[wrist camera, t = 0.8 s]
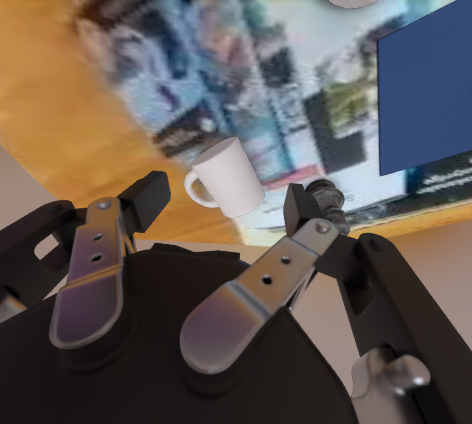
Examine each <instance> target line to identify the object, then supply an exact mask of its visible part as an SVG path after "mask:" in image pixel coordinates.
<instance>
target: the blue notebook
mask: <svg viewBox="0 0 472 424" xmlns="http://www.w3.org/2000/svg"><path fill="white" fill-rule="evenodd" d="M377 59H378V107H379V156H380V176H384V175H387V174H391V173H394V172H397V171H401V170H404V169H408V168H411V167H414V166H418V165H421V164H425V163H428V162H431V161H435V160H438V159H441V158H445V157H448V156H452V155H455V154H458V153H462V152H465V151H469V150H472V0H456V1H454V2H452V3H450V4H448V5H446V6H444V7H442V8H440V9H438V10H437V11H435V12H433V13H431V14H429V15H427V16H425V17H423V18H421V19H419V20H417V21H415V22H413V23H411V24H409V25H408V26H406V27H404V28H402V29H400V30H398V31H396V32H394V33H392V34H390V35H388V36H386V37H384V38H382V39H380V40H378V41H377Z"/></svg>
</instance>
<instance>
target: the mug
mask: <svg viewBox="0 0 472 424" xmlns="http://www.w3.org/2000/svg"><path fill="white" fill-rule="evenodd" d="M191 167H192V169H193V170H191V171H190V172H189V173H188V174H187V176H186V177H185V181H184V185H185V189H186V192H187V193H188V195H189V196H190V197H191V198H192V199H193V200H194V201H195V202H197V203H199V204H200V205H203V206H205V207H210V208H215V207H220V209H221V210H222V212H223V213H224V215H225V216H227V217H231V218H235V217H240V216H243V215H245V214H247V213H249V212H251V211H252V210H254V209H255V208H256V207H257V206H258V205H259V204H260V203H261V202H262V200H263V199H264V196H265V191H264V189H263V187H262V185H261V183H260V181H259V179H258V177H257V175H256V173H255V171H254V169H253V167H252V165H251V163H250V161H249V159H248V157H247V155H246V153H245V151H244V149H243V147H242V145H241V143H240V141H239V139H238V138H237V137H230V138H228V139H225V140H223V141H221V142H219V143H217V144H216V145H214V146H212V147H211V148H209V149H208V150H206V151H205V152H203V153H202V154H201V155H199V156H198V157H197V158H196V159H195V160H194V161H193V162H192V164H191ZM198 177H199V179H200V180H201V182H202V183H203V184H204V186H205V187H206V189H207V190H208V192H209V193H210V195H211V196H212V197H213V199H214V200H204V199H202V198H200V197H199V196H198V195H197V194H196V193H195V192H194V190H193V189H192V186H191V185H192V183H193V181H194V180H195V179H197V178H198Z"/></svg>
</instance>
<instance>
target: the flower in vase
mask: <svg viewBox="0 0 472 424" xmlns="http://www.w3.org/2000/svg"><path fill="white" fill-rule="evenodd" d="M328 1H330V2H331V3H333V4H335V5H337V6H340V7H343V8H359V7H363V6H367V5H370V4H372V3H374V2H376V1H378V0H328Z"/></svg>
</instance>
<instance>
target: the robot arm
mask: <svg viewBox="0 0 472 424" xmlns="http://www.w3.org/2000/svg"><path fill="white" fill-rule="evenodd" d="M170 198H171V192H170V187H169V182H168V177H167V174H166V172H163V171H152V172H150V173H149V174H148V175H147V176H145V177H144V178H142V179H140V180H137V181H136V182H135V183H134V184H133V185H131V186H130V187H128V188H127V189H126V190H125V191H123V192H122V193H121V194H119V195H118V196H117V197H105V198H101V199H98V200H95V201H93V202H92V203H90V204H89V205H88V208H78V209H75V207H74V206H73V204H72V202H71V201H68V200H59V201H54V202H51V203H48V204H45V205H43V206H41V207H39V208H37V209H36V210H34V211H32V212H31V213H29V214H27V215H26V216H24V217H22V218H21V219H19V220H17V221H16V222H14V223H12V224H11V225H9V226H7V227H5V228H4V229H2V230H0V424H472V351H471V350H470V348H469V347H468V345H467V344H466V343H465V341H464V340H463V339H462V337H461V336H460V334H459V333H458V332H457V330H456V329H455V328H454V326H453V325H452V323H451V322H450V321H449V319H448V318H447V317H446V315H445V314H444V312H443V311H442V310H441V308H440V307H439V306H438V304H437V303H436V301H435V300H434V299H433V297H432V296H431V295H430V293H429V292H428V290H427V289H426V288H425V286H424V285H423V284H422V282H421V281H420V280H419V278H418V277H417V275H416V274H415V273H414V271H413V270H412V268H411V267H410V266H409V264H408V263H407V262H406V260H405V259H404V257H403V256H402V255H401V253H400V252H399V251H398V249H397V248H396V247H395V245H394V244H392V242H390V241H389V240H387V239H386V238H384V237H382V236H380V235H377V234H373V233H363V234H361V235H360V236H359V238H358V239H355V238H351V237H348V236H345V235H342V234H340V233H339V230H338V228H337V226H336V225H335V224H333V223H332V222H330V221H328V220H325V218H324V215H323V213H322V211H321V209H320V208H319V204H318V202H317V200H316V198H315V197H314V196H313V195H312V194H311V193H308V192H305V190H304V187H303V185H302V184H295V183H290V184H289V186H288V190H287V194H286V198H285V203H284V209H283V214H284V220H285V227H286V233H287V235H285V236H283V237H282V238H281V239H280V240H279V241H278V242H277V243H275V244H274V245H273V246H272V247H271V248H270V249H269V250H268V251H266V252H265V253H264V254H263V255H262V256H261V257H260V258H259V259H257V260H256V261H255V262H254V263H253V264H252V265H250V264H248V263H246V262H244V261H242V260H240V253H236V252H228V251H219V250H217V251H205V252H192V251H190V250H187V249H184V248H182V247H179V246H176V245H170V244H161V243H154V245H153V247H152V248H151V249H148V250H142V251H138V252H137V248H136V243H135V238H134V235H133V234H134V232H139V233H145V231H146V230H147V229H148V228H149V226H150V225H151V224H152V223H153V221H154V220H155V219H156V218H157V216H158V215H159V214H160V213H161V211H162V210H163V209H164V207H165V206H166V205H167V204H168V202H169V201H170ZM50 234H52V235H53V236H54V238H55V239H56V240H57V242H58V243H59V245H58V246H56V247H55V248H54V249H53V250H52V251H50V252H49V253H48V254H47V255H46V256H45V257H43V258H42V259H41V260H39V259H38V258H37V257H36V255H35V254H34V249H35V247H36V245H37V244H38V243H40V242H41V241H42V240H44V239H45V238H46V237H48V236H49V235H50ZM319 272H320V273H323V274H325V275H328V276H330V277H333V278H336V279H337V282H338V286H339V289H340V292H341V296H342V299H343V302H344V305H345V309H346V312H347V315H348V319H349V322H350V325H351V329H352V332H353V335H354V338H355V342H356V345H357V348H358V351H359V355H360V358H359V359H358V360H357V361H355V363H354V364H353V367H352V380H353V392H352V395H351V397H350V396H349V394H348V392H347V390H346V388H345V386H344V385H343V383H342V381H341V380H340V378H339V377H338V375H337V374H336V372H335V371H334V370H333V369H332V367H331V366H330V364H329V363H328V362H327V361H326V359H325V358H324V356H323V355H322V354H321V352H320V351H319V350H318V349H317V347H316V346H315V345H314V344H313V342H312V341H311V339H310V338H309V337H308V335H307V334H306V333H305V331H304V330H303V329H302V327H301V326H300V325H299V323H298V322H297V321H296V319H295V318H294V317H293V315H292V312H293V310H294V309H295V307H296V306H297V304H298V303H299V301H300V299H301V297H302V296H303V294H304V293H305V292H306V290H307V289H308V287H309V286H310V284H311V283H312V282H313V280H314V279H315V277H316V276H317V274H318V273H319ZM67 274H68V277H67V282H66V285H65V286H64V287H62V288H60V290H59V291H58V293H56V294H54V295H52V296H50V297H48V298H46V299H45V300H43V299H44V298H45V297H46V296H47V295H48V294H49V293H50V292H51V291H52V290H53V289H54V287H55V286H56V285H57V284H58V283H59V282H60V281H61V280H62V279H63V278H64V277H65V276H66V275H67ZM42 300H43V301H42Z"/></svg>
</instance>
